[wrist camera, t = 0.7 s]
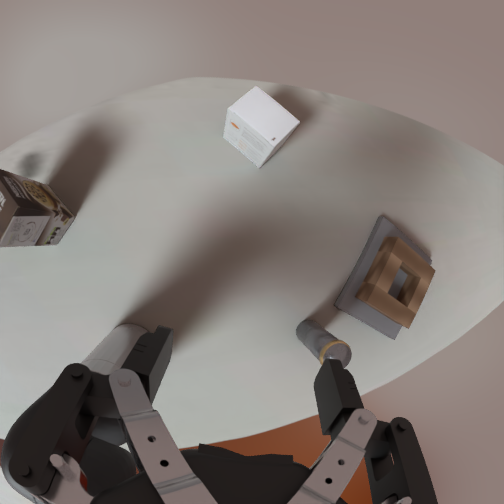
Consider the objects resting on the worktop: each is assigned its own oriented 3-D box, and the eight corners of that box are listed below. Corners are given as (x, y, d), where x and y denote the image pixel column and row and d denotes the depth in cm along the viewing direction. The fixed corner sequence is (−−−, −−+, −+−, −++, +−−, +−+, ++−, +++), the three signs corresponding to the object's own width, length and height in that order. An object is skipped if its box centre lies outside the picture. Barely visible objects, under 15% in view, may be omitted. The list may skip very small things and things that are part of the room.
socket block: (396, 322, 46) (408, 328, 42) (354, 296, 44) (367, 301, 40) (421, 268, 46) (435, 270, 42) (384, 236, 44) (398, 236, 40)
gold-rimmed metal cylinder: (310, 346, 45) (341, 376, 33) (290, 336, 44) (317, 367, 32) (323, 324, 45) (358, 349, 33) (303, 314, 44) (335, 338, 32)
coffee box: (76, 216, 37) (19, 207, 21) (56, 246, 37) (-4, 250, 21) (48, 183, 36) (-8, 163, 20) (29, 212, 35) (-29, 204, 19)
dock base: (390, 337, 47) (394, 340, 46) (334, 305, 45) (337, 307, 43) (427, 259, 48) (432, 260, 47) (378, 216, 46) (383, 216, 44)
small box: (281, 147, 42) (302, 122, 32) (258, 169, 42) (275, 148, 31) (245, 115, 41) (256, 83, 30) (221, 137, 40) (226, 107, 30)
